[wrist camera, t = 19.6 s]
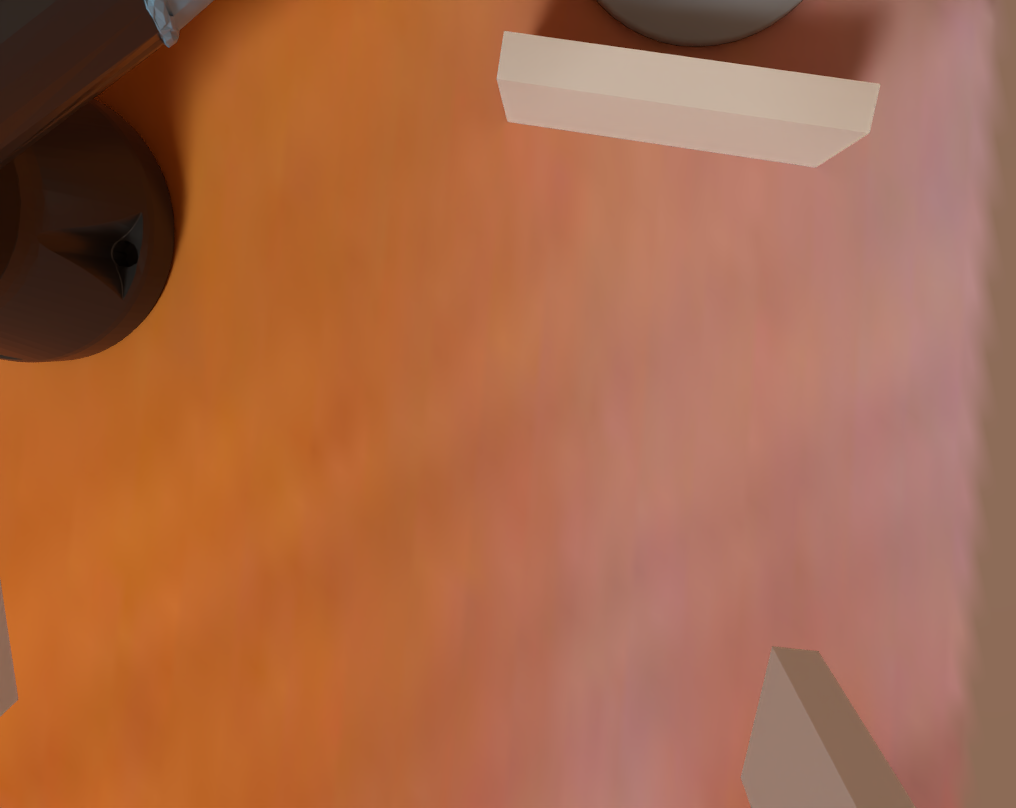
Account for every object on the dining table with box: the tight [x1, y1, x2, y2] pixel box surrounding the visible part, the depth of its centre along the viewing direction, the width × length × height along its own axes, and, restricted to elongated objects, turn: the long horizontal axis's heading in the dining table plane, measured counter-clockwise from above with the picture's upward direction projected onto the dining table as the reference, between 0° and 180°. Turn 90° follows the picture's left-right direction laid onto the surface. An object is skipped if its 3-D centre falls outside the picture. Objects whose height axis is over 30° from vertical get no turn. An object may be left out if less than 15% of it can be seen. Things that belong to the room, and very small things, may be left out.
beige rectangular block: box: [497, 31, 880, 168], centre depth 31 cm, size 16×2×6 cm, turn 80°
